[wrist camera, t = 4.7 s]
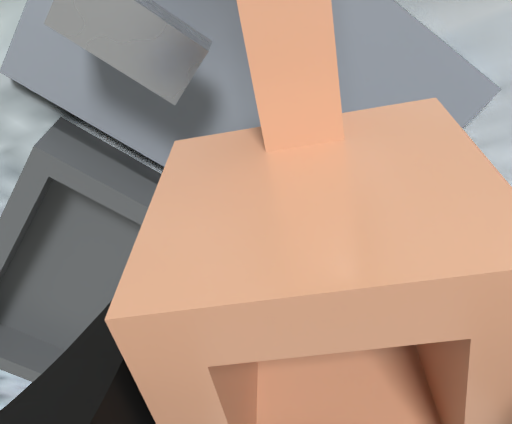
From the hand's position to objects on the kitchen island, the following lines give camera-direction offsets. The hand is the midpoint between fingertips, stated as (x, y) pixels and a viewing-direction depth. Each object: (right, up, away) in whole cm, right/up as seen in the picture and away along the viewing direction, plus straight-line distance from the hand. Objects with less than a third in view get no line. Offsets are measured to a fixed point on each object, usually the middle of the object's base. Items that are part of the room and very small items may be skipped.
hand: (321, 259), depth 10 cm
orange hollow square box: (0, +2, 0) cm, 2 cm away
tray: (-6, -3, +12) cm, 14 cm away
